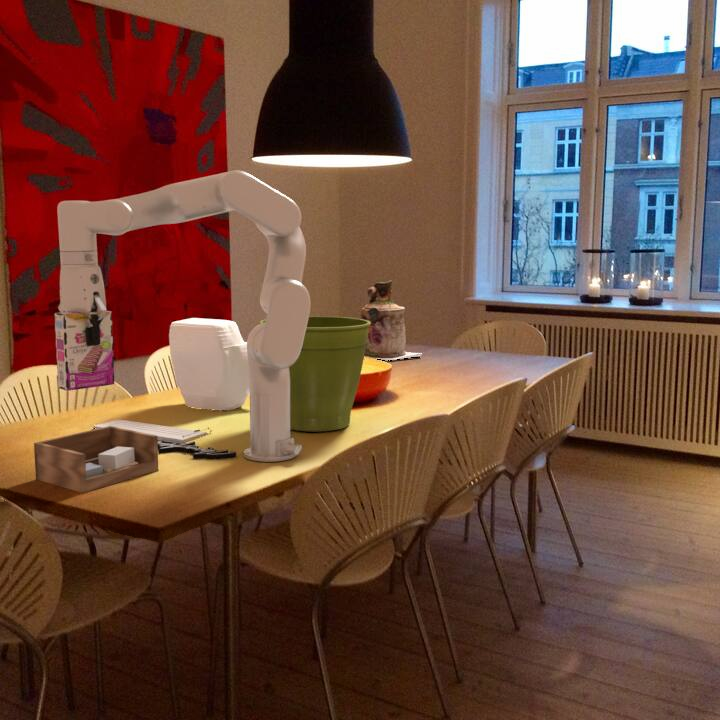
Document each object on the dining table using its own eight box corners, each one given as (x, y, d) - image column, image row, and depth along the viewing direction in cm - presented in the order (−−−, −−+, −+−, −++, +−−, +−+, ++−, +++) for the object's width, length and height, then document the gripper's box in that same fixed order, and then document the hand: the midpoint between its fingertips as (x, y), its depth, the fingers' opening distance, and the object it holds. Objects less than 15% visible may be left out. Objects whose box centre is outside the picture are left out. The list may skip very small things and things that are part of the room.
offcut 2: (134, 461, 189) (133, 447, 188) (115, 469, 182) (115, 455, 182) (118, 459, 190) (117, 446, 190) (99, 467, 184) (98, 454, 183)
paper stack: (202, 396, 274) (201, 316, 270) (271, 406, 260) (270, 321, 256) (155, 408, 256) (152, 322, 252) (225, 419, 242) (224, 328, 238)
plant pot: (322, 444, 215) (322, 330, 211) (238, 427, 233) (236, 321, 228) (391, 423, 238) (392, 320, 234) (309, 409, 256) (309, 313, 252)
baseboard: (125, 422, 240) (93, 431, 230) (124, 412, 240) (92, 420, 230) (213, 435, 226) (183, 445, 215) (212, 424, 225) (182, 434, 215)
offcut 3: (138, 475, 189) (137, 462, 188) (108, 484, 182) (107, 470, 182) (125, 472, 191) (124, 459, 191) (95, 480, 185) (94, 467, 184)
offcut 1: (103, 484, 181) (102, 466, 181) (86, 489, 178) (85, 470, 177) (90, 480, 184) (89, 462, 183) (73, 485, 180) (72, 467, 180)
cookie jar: (388, 351, 375) (389, 277, 370) (424, 358, 355) (425, 281, 351) (341, 356, 361) (341, 279, 356) (376, 363, 341) (376, 283, 336)
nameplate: (245, 448, 207) (221, 458, 198) (245, 454, 207) (221, 464, 198) (154, 435, 218) (127, 444, 209) (154, 441, 218) (128, 450, 210)
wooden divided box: (158, 470, 191) (157, 435, 190) (82, 493, 175) (81, 454, 174) (111, 459, 200) (110, 425, 199) (35, 479, 184) (33, 443, 183)
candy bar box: (68, 391, 181) (63, 314, 179) (57, 388, 185) (52, 312, 182) (116, 384, 189) (112, 310, 186) (105, 382, 192) (101, 308, 190)
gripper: (119, 259, 181) (124, 345, 183) (69, 258, 190) (74, 339, 193) (90, 261, 175) (95, 349, 177) (39, 259, 184) (45, 343, 187)
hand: (84, 343), depth 185 cm, fingers closed on candy bar box, 5 cm apart
